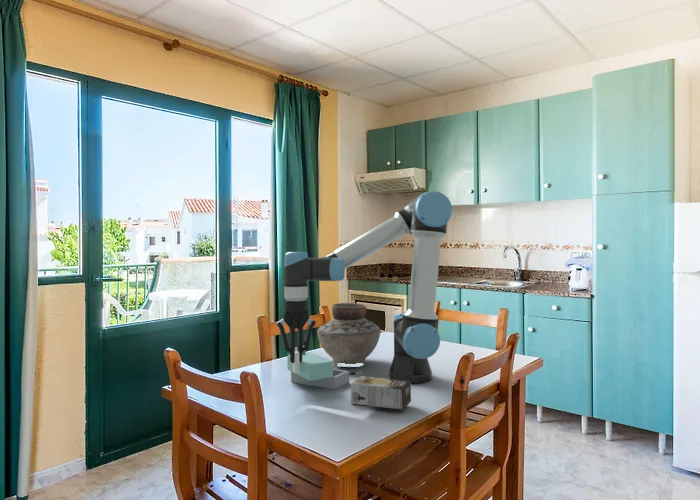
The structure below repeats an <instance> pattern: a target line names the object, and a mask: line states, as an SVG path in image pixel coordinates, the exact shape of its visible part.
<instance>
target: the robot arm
mask: <svg viewBox="0 0 700 500" xmlns="http://www.w3.org/2000/svg"><path fill="white" fill-rule="evenodd" d="M452 215H453V205H452V203H451V200H450V199H449V197H447V196H446V195H445V194H444V193H442V192H440V191H434V190H432V191H431V190H430V191H425V192H423V193H421V194H419V195H418V196H416V197H415V198H413V199H412V200H411V201H410V202H408V203H407V204H406V205H404V206H403V207H401V208H400V209H399V210H397V211H395V213H394V215H393V217H391V218H389V219H387V220H386V221H384V222H382V223H380V224H378V225H376V226H375V227H374V228H372V229H369V230H368V231H365V232H364V233H363V234H361V235H359V236H357V237H356V238H354V239H353V240H350V241H349V242H347V243H345V244H344V245H342V246H340V247H338V248H337V249H335V250H333V251H332V252H330V253H328V254H327V255H325V256H323V257H309V256H308V255H309V254H308V252H306V251H287V252H286V253H285V254H284V260H283V261H284V263H283V273H284V275H283V276H284V277H283V279H284V281H283V283H284V284H283V285H284V287H283V288H284V289H283V290H284V296H283V297H284V299H285V300H284V301H283V303H284V304H283V305H284V306H283V307H284V313H283V315H282V319H280V320H278V321H276V323H275V324H276V327H278V329H279V334H280V337H281V340H282V341H281V342H282V345H283V349H284V351H285V352H288V353H289V355H290V362H291V363H293V372H294V373H295V374H297V373H299V362H302V353H303V351H305V352H306V351H307V350H309V345H310V342H311V338H312V337H311V336H312V332H313V330H314V327H315V325H316V323H317V322H316V320H314V319H312V318H311V317H310V315H309V311H308V310H309V308H308V307H309V305H308V304H309V302H308V300H307V299H308V298H309V295H308V294H309V293H308V292H309V290H308V285H309V284H308V283H309V282H323V281H324V282H342V281H344V279H345V274H346V273H345V270H346V269H348V268H350V267H351V266H353V265H355V264H357V263H359V262H360V261H362V260H364V259H365V258H367V257H369V256H371V255H372V254H374V253H376V252H377V251H380V250H382V248H384V247H386V246H389V244H392V243H394V242H395V241H397V240H398V239H400V238H402V237H403V236H409V237H410V236H411V235H413V236H414V242H413V251H412V253H413V254H412V264H411V271H410V272H411V275H410V283H409V293H408V295H409V297H408V308H407V310H405V312H402V313H396V314H394V317H393V357H392V361H391V365H390V367H389V371H388V373H389V374H388V377H389V379H397V380H408V381H411V384H419V383H426V382H429V381H431V380H432V379H433V371H432V368H431V365H430V362H429V359H428V358H431V357H432V356H433V355H435V354H436V353H437V351H438V350H439V348H440V344H441V336H440V333H439V331H438V327H439V316H438V315H437V314H436V312H435V309H436V299H437V298H436V297H437V288H438V287H437V286H438V277H439V276H438V274H439V265H440V263H439V262H440V252H441V243H442V242H441V241H442V239H443V238H445V237H446V236H447V230H448V222H449V221H450V219H451V217H452ZM285 324H286V325H287V327H288V331H289V341H288V337H287V334H286V330H285ZM306 324H307V325H306ZM305 325H306V326H307V327H306V331H305V335H304V333H303V332H304V326H305ZM296 335H297V336H296ZM303 335H304V337H303ZM296 337H297V338H296ZM303 338H304V339H303ZM296 339H297V341H296ZM296 342H297V343H296ZM296 345H297V346H296ZM295 347H297V350H298V352H297V351H296V352H295Z"/></svg>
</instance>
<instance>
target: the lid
mask: <svg viewBox="0 0 700 500" xmlns="http://www.w3.org/2000/svg"><path fill="white" fill-rule="evenodd" d="M296 351H297V352H298V350H297V346H295V352H296ZM286 358H287V371H290V372H291V371H292V372H293V363H291V362H290V354H287V357H286ZM333 369H334V365H333V360H331V359H328V358H326V357H323V356H321V355H318V354H315V353H313V352H311V351H310V352H307V351H306V350H305V351H303V353H302V362H299V373H297V375H299V376H301V377H303V378H305V379H307V380H309V381H310V380H317V379H323V378H329V377H333Z"/></svg>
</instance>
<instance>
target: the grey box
mask: <svg viewBox="0 0 700 500" xmlns="http://www.w3.org/2000/svg"><path fill="white" fill-rule="evenodd" d="M290 383H293V384H299V385H305V386H311V387H317V388H323V389H329V390H338V389H339V388H342V387H343V386H346V385H349V384H350V371H348V370H343V369H342V370H341V369H336V368H333V377H329V378H323V379H317V380H310V381H309V380H307V379H305V378H303V377H301V376H299V375H297V374H295V373H294V372H292V371H290Z"/></svg>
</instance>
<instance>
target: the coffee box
mask: <svg viewBox="0 0 700 500" xmlns="http://www.w3.org/2000/svg"><path fill="white" fill-rule="evenodd" d="M411 385H412V383H411V381H408V380H397V379H390V378H385V377H383V378H382V377H374V376H373V377H372V376H364V375H362V376H359V377H358V378H356V379H355V380H353V381H352V382H351V383H350V404H351V405H353V404H354V405H359V406H369V407H377V408H385V409H395V410H403V411H404V410H405V409H406V407H407V406H408V405H409V404H410V403H411V402H412V395H411V394H412V389H411V387H412V386H411Z"/></svg>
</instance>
